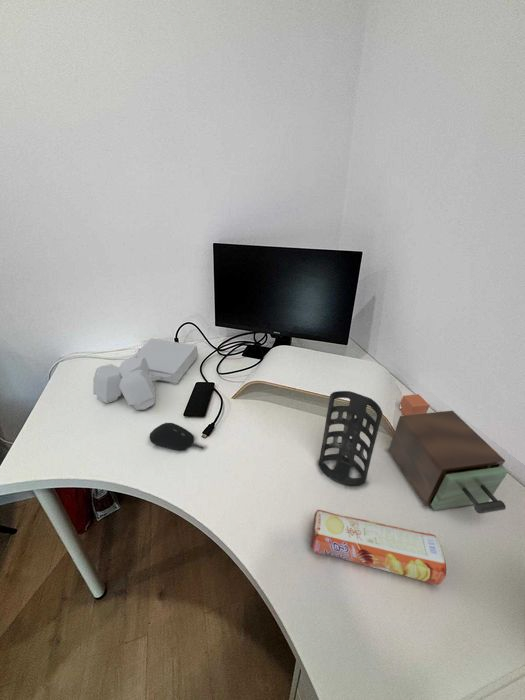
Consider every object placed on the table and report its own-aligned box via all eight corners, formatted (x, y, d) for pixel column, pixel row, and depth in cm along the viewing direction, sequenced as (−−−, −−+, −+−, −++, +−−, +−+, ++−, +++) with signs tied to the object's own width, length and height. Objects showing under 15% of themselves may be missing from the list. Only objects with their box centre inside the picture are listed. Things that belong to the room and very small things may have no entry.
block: (414, 407, 88) (418, 394, 85) (424, 418, 84) (429, 405, 81) (398, 408, 87) (403, 395, 85) (408, 420, 83) (413, 407, 80)
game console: (200, 355, 109) (194, 326, 101) (151, 420, 84) (139, 388, 77) (153, 347, 113) (145, 319, 106) (94, 407, 89) (77, 375, 81)
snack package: (309, 556, 52) (312, 536, 49) (312, 520, 58) (316, 500, 55) (438, 593, 48) (452, 573, 45) (429, 550, 54) (440, 529, 50)
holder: (314, 475, 66) (327, 403, 58) (319, 453, 73) (332, 385, 65) (364, 492, 63) (386, 417, 55) (365, 467, 70) (385, 397, 61)
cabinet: (482, 497, 63) (505, 460, 57) (424, 505, 61) (442, 469, 55) (437, 444, 75) (452, 410, 69) (388, 450, 73) (399, 415, 68)
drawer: (508, 525, 57) (532, 494, 52) (450, 535, 55) (470, 504, 50) (443, 451, 72) (457, 421, 67) (397, 456, 71) (408, 427, 66)
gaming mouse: (196, 458, 71) (195, 446, 69) (145, 442, 75) (142, 431, 73) (208, 439, 76) (207, 428, 74) (160, 425, 80) (157, 414, 78)
